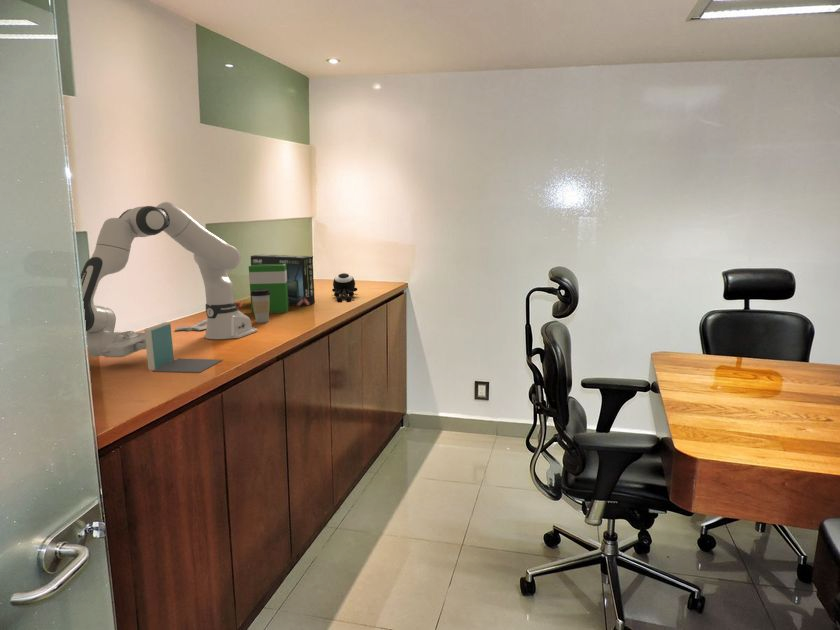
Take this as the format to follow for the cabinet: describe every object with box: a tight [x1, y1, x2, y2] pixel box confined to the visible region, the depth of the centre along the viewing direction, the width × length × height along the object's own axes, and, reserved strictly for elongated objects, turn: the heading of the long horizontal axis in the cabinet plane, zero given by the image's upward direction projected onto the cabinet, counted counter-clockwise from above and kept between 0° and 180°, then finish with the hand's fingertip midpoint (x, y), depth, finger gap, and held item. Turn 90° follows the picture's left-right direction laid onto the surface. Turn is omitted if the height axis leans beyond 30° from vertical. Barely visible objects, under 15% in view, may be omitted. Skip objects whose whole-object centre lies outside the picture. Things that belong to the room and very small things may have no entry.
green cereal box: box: [248, 264, 290, 314], centre depth 310 cm, size 18×7×24 cm, turn 94°
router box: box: [250, 253, 316, 307], centre depth 334 cm, size 36×11×27 cm, turn 66°
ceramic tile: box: [144, 321, 175, 371], centre depth 209 cm, size 2×12×14 cm, turn 171°
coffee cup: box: [249, 289, 271, 324], centre depth 283 cm, size 9×9×15 cm
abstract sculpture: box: [331, 272, 358, 303], centre depth 353 cm, size 15×19×32 cm
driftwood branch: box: [175, 318, 207, 332], centre depth 279 cm, size 30×14×2 cm, turn 177°
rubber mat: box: [152, 358, 223, 374], centre depth 208 cm, size 17×16×1 cm
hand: (152, 345), depth 209 cm, fingers closed
